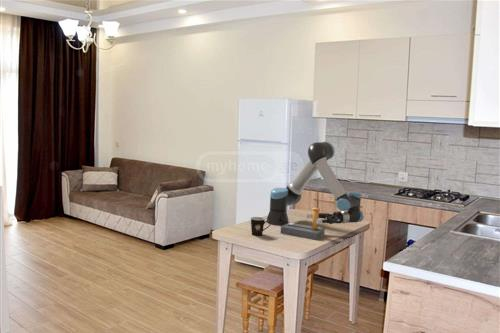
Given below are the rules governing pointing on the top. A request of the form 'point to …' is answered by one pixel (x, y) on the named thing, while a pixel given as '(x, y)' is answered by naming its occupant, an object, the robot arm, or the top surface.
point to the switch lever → (315, 218)
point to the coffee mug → (257, 225)
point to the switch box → (302, 231)
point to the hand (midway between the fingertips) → (311, 218)
